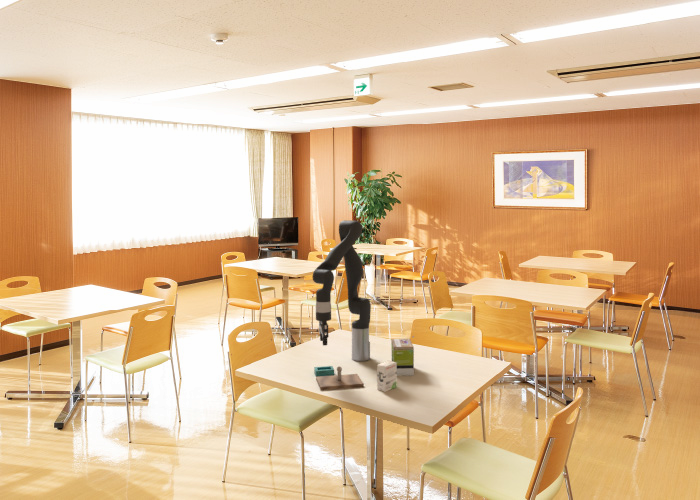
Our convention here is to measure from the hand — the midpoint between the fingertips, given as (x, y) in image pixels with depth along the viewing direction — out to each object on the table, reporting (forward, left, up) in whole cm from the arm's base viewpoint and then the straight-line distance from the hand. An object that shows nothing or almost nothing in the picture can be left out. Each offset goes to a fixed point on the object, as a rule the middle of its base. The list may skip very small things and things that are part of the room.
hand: (323, 342), depth 266 cm
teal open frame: (0, 0, -16) cm, 16 cm away
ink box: (-25, +25, -16) cm, 39 cm away
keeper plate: (-5, +14, -16) cm, 22 cm away
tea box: (-39, +3, -16) cm, 42 cm away
